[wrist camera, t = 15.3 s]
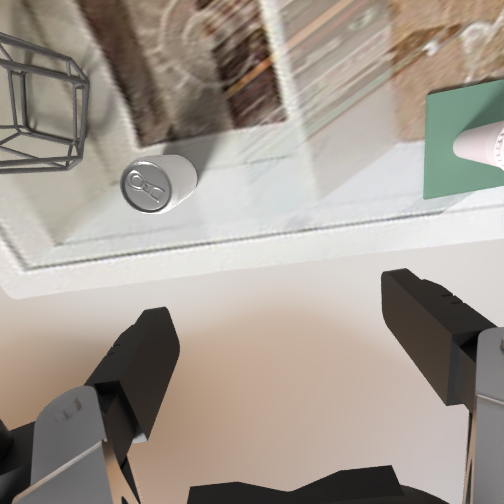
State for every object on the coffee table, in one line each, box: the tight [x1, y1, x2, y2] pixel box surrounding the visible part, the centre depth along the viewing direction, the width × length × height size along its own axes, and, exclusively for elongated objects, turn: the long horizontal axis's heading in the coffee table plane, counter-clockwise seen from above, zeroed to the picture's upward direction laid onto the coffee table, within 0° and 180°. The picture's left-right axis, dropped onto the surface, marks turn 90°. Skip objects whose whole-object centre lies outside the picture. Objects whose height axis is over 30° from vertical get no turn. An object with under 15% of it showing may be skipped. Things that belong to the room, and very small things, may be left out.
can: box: [120, 155, 197, 214], centre depth 35 cm, size 6×6×12 cm
